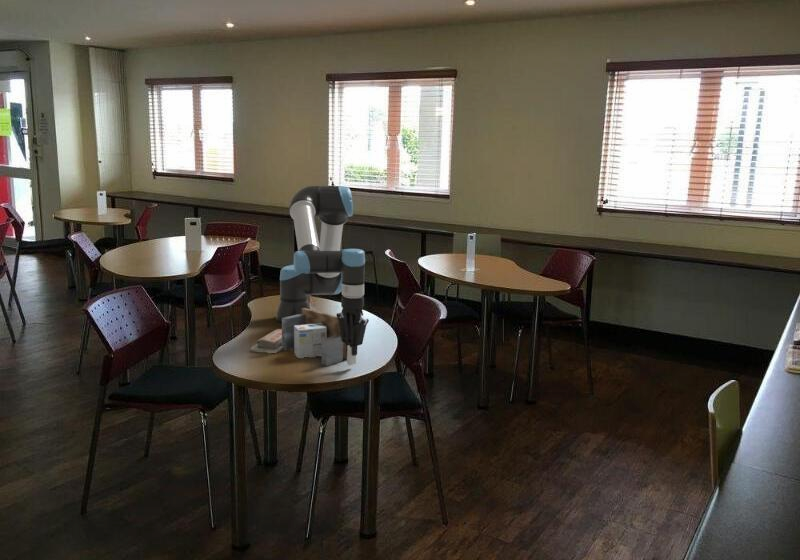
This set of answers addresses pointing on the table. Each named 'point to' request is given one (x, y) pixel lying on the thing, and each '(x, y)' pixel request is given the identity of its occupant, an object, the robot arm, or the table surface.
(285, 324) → the rack
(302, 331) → the light bulb box
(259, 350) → the packaged product
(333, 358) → the bookend
